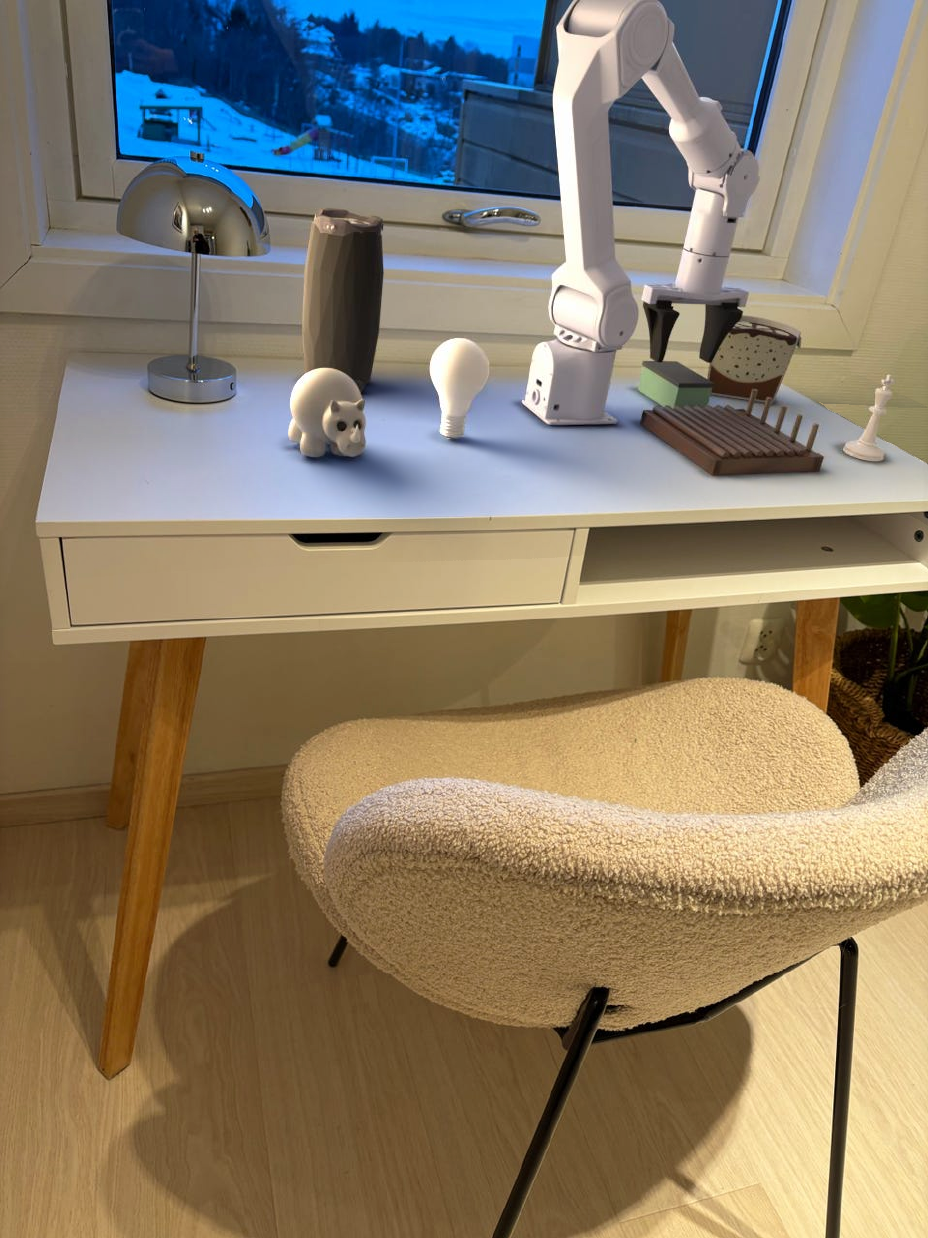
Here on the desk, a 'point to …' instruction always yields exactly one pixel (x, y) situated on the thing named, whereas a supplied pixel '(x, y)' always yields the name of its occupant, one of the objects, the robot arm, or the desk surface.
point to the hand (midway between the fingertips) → (680, 360)
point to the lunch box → (674, 384)
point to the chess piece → (871, 427)
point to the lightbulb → (458, 381)
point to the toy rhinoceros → (327, 414)
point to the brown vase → (343, 293)
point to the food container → (753, 359)
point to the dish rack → (733, 438)
